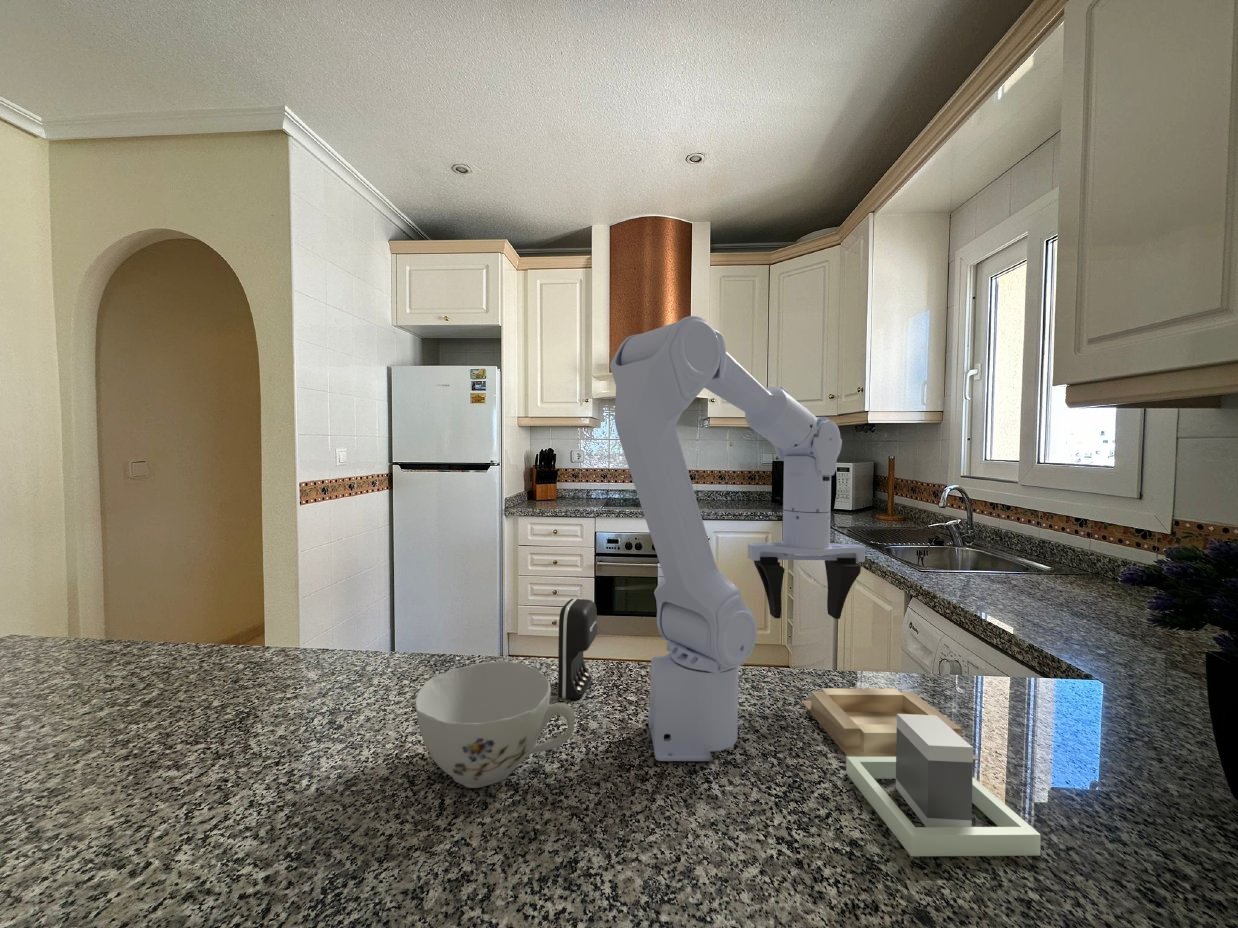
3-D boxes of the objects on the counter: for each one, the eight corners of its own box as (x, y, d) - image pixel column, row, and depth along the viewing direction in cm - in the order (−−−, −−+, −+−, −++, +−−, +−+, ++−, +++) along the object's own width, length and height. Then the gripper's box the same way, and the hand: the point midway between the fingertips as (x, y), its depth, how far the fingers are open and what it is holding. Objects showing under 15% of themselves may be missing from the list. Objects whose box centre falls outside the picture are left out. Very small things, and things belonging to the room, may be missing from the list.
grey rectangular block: (927, 832, 39) (928, 745, 39) (895, 791, 44) (896, 713, 44) (971, 835, 39) (973, 747, 39) (934, 793, 44) (935, 715, 44)
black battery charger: (586, 703, 61) (587, 610, 61) (556, 700, 61) (558, 608, 61) (598, 679, 68) (599, 596, 68) (571, 676, 68) (572, 594, 68)
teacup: (384, 808, 42) (386, 714, 42) (449, 729, 54) (450, 657, 54) (558, 824, 40) (560, 726, 40) (584, 739, 53) (585, 665, 53)
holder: (849, 769, 48) (850, 738, 48) (801, 708, 60) (801, 684, 60) (979, 769, 49) (979, 738, 49) (905, 708, 61) (905, 684, 61)
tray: (911, 868, 36) (911, 835, 36) (846, 783, 46) (846, 756, 46) (1040, 867, 37) (1040, 834, 37) (948, 782, 47) (948, 756, 47)
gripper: (846, 508, 68) (845, 607, 68) (741, 507, 67) (740, 606, 67) (874, 513, 61) (873, 624, 61) (757, 512, 60) (756, 623, 60)
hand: (804, 616), depth 63 cm, fingers open, 7 cm apart
